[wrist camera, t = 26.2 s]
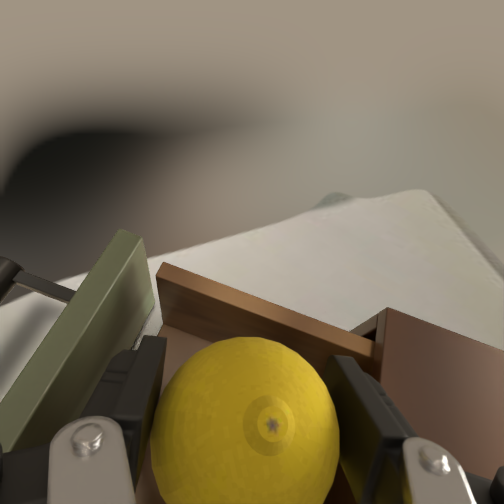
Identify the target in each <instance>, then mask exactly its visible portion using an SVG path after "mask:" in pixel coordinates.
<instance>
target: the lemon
mask: <svg viewBox="0 0 504 504" xmlns="http://www.w3.org/2000/svg"><path fill="white" fill-rule="evenodd" d="M339 432H340V430H339V425H338V420H337V415H336V410H335V406H334V404H333V401H332V399H331V397H330V394H329V392H328V390H327V387H326V385H325V384H324V382H323V381H322V379H321V378H320V377H319V375H318V374H317V372H316V371H315V369H314V368H313V367H312V366H311V365H310V364H309V363H308V362H306V361H305V360H304V359H303V358H302V357H301V356H300V355H299V354H298V353H296V352H295V351H293V350H291V349H289V348H288V347H286V346H284V345H282V344H281V343H278V342H275V341H271V340H267V339H264V338H260V337H235V338H231V339H227V340H222V341H218V342H215V343H213V344H211V345H210V346H208V347H206V348H204V349H202V350H200V351H198V352H196V353H195V354H194V355H193V356H192V357H190V358H189V359H188V360H187V361H186V362H185V363H184V364H183V365H182V366H180V367H179V368H178V370H177V371H176V372H175V374H174V375H173V377H172V378H171V380H170V381H169V382H168V384H167V385H166V387H165V388H164V390H163V393H162V395H161V397H160V400H159V402H158V405H157V407H156V410H155V413H154V419H153V425H152V431H151V437H150V446H151V461H152V469H153V473H154V476H155V479H156V482H157V485H158V489H159V492H160V495H161V496H162V498H163V499H164V501H165V503H166V504H323V502H324V500H325V498H326V496H327V494H328V492H329V490H330V488H331V486H332V484H333V481H334V477H335V472H336V468H337V464H338V459H339Z"/></svg>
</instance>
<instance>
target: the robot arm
mask: <svg viewBox="0 0 504 504" xmlns="http://www.w3.org/2000/svg"><path fill="white" fill-rule="evenodd" d="M166 346H167V337H158V336H148V335H144V336H143V339H142V341H141V343H140V345H139V348H138V350H127V349H124V350H122V351H121V352H120V353H118V354H117V355H115V356H114V357H113V358H112V359H111V360H110V362H109V364H108V366H107V368H106V370H105V372H104V373H103V375H102V377H101V379H100V382H98V384H97V386H96V388H95V390H94V391H93V393H92V395H91V397H90V399H89V400H88V402H87V404H86V406H85V408H84V410H83V411H82V413H81V415H80V417H79V419H77V420H74V421H72V422H70V423H69V424H67V425H66V426H64V427H63V428H62V429H60V430H59V431H58V432H57V433H56V435H55V436H54V438H53V439H52V441H51V442H49V443H46V444H43V445H40V446H36V447H31V448H26V449H21V450H16V451H11V452H6V453H3V450H2V445H1V443H0V504H137V503H136V498H135V492H136V488H137V484H138V480H139V476H140V472H141V468H142V464H143V460H144V456H145V452H146V448H147V444H148V440H149V436H150V432H151V428H152V425H153V419H154V413H155V410H156V407H157V405H158V401H159V396H160V391H161V386H162V379H163V371H164V363H165V355H166ZM322 381H323V382H324V384H325V385H326V387H327V390H328V392H329V394H330V397H331V399H332V401H333V404H334V406H335V410H336V415H337V420H338V425H339V430H340V432H339V461H340V463H341V466H342V468H343V470H344V473H345V475H346V478H347V480H348V483H349V485H350V488H351V490H352V492H353V495H354V497H355V500H356V502H357V504H504V466H501V467H499V468H498V470H497V472H496V474H495V477H494V479H493V480H490V479H487V478H484V477H481V476H478V475H475V474H472V473H469V472H466V471H463V469H462V467H461V465H460V464H459V462H458V461H457V460H456V459H455V458H454V457H453V456H452V455H451V454H450V453H449V452H448V451H447V450H445V449H444V448H443V447H441V446H439V445H438V444H436V443H434V442H432V441H429V440H427V439H424V438H420V437H419V436H418V435H417V433H416V432H415V431H414V429H413V428H412V427H411V425H410V424H409V422H408V421H407V420H406V418H405V417H404V416H403V414H402V413H401V412H400V410H399V409H398V408H397V406H395V403H394V402H393V401H392V399H391V398H390V397H388V394H387V393H386V391H385V390H384V389H383V387H382V386H381V385H380V383H379V382H377V381H376V380H375V379H374V378H373V377H371V376H370V375H369V374H368V373H364V372H363V371H362V369H361V368H360V366H359V365H358V364H357V362H356V361H355V359H354V358H353V357H349V356H340V355H330V356H329V357H328V359H327V362H326V366H325V370H324V374H323V378H322Z"/></svg>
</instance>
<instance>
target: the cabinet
mask: <svg viewBox="0 0 504 504" xmlns="http://www.w3.org/2000/svg"><path fill="white" fill-rule="evenodd" d="M350 333H353V334H356V335H358V336H361V337H364V338H366V339H369V340H372V341H374V342H375V351H374V360H373V369H372V377H373V378H374V379H375V380H376V381H377V382H379V383H380V385H381V386H382V387H383V389H384V390H385V391H386V393H387V394H388V397H390V398H391V399H392V401H393V402H394V403H395V406H397V408H398V409H399V410H400V412H401V413H402V414H403V416H404V417H405V418H406V420H407V421H408V422H409V424H410V425H411V427H412V428H413V429H414V431H415V432H416V433H417V435H418V436H419V437H420V438H424V439H427V440H429V441H432V442H434V443H436V444H438V445H439V446H441V447H443V448H444V449H445V450H447V451H448V452H449V453H450V454H451V455H452V456H453V457H454V458H455V459H456V460H457V461H458V462H459V464H460V465H461V467H462V469H463V471H466V472H469V473H472V474H475V475H478V476H481V477H484V478H487V479H490V480H493V479H494V477H495V474H496V472H497V470H498V468H499V467H501V466H504V351H502V350H500V349H497V348H495V347H492V346H489V345H487V344H484V343H481V342H479V341H476V340H473V339H471V338H468V337H465V336H463V335H460V334H457V333H455V332H452V331H450V330H447V329H444V328H442V327H439V326H436V325H434V324H431V323H428V322H426V321H423V320H420V319H418V318H415V317H413V316H410V315H407V314H405V313H402V312H399V311H397V310H394V309H391V308H389V307H387V308H385V309H384V310H382V311H380V312H379V314H376V315H375V316H373V317H371V318H370V319H368V320H367V321H365V322H364V323H362V324H360V325H359V326H357V327H356V328H354V329H353V330H351V331H350Z"/></svg>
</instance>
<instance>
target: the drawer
mask: <svg viewBox="0 0 504 504" xmlns="http://www.w3.org/2000/svg"><path fill="white" fill-rule="evenodd" d="M156 281H157V288H158V294H159V300H160V307H161V313H162V319H163V325H162V327H161V329H160V331H159V333H158V335H157V336H158V337H167V346H166V355H165V363H164V371H163V379H162V386H161V391H160V396H159V400H160V397H161V395H162V393H163V390H164V388H165V387H166V385H167V384H168V382H169V381H170V380H171V378H172V377H173V375H174V374H175V372H176V371H177V370H178V368H179V367H180V366H182V365H183V364H184V363H185V362H186V361H187V360H188V359H189V358H190V357H192V356H193V355H194V354H195V353H196V352H198V351H200V350H202V349H204V348H206V347H208V346H210V345H211V344H213V343H215V342H218V341H222V340H227V339H231V338H235V337H260V338H264V339H267V340H271V341H275V342H278V343H281V344H282V345H284V346H286V347H288V348H289V349H291V350H293V351H295V352H296V353H298V354H299V355H300V356H301V357H302V358H303V359H304V360H305V361H306V362H308V363H309V364H310V365H311V366H312V367H313V368H314V369H315V371H316V372H317V374H318V375H319V377H320V378H321V379H322V378H323V374H324V370H325V366H326V362H327V359H328V357H329V356H330V355H340V356H349V357H353V358H354V359H355V361H356V362H357V364H358V365H359V366H360V368H361V369H362V371H363V372H364V373H368V374H369V375H370V376H371V377H372V369H373V360H374V351H375V342H374V341H372V340H369V339H366V338H364V337H361V336H358V335H356V334H353V333H350V332H348V331H345V330H342V329H340V328H337V327H335V326H332V325H329V324H327V323H324V322H321V321H319V320H316V319H313V318H311V317H308V316H305V315H303V314H300V313H298V312H295V311H292V310H290V309H287V308H284V307H282V306H279V305H276V304H274V303H271V302H268V301H266V300H263V299H261V298H258V297H255V296H253V295H250V294H247V293H245V292H242V291H239V290H237V289H234V288H231V287H229V286H226V285H224V284H221V283H218V282H216V281H213V280H210V279H208V278H205V277H202V276H200V275H197V274H194V273H192V272H189V271H187V270H184V269H181V268H179V267H176V266H173V265H171V264H168V263H165V262H163V263H162V265H161V266H160V268H159V270H158V272H157V274H156ZM16 284H17V285H19V286H22V287H24V288H27V289H29V290H32V291H35V292H37V293H40V294H43V295H45V296H48V297H51V298H53V299H56V300H59V301H61V302H64V303H66V304H67V306H66V307H65V309H64V310H63V312H62V313H61V315H60V316H59V318H58V319H57V321H56V322H55V323H54V325H53V326H52V328H51V329H50V331H49V332H48V334H47V335H46V337H45V338H44V340H43V341H42V343H41V344H40V346H39V347H38V348H37V350H36V351H35V353H34V354H33V356H32V357H31V359H30V360H29V362H28V363H27V365H26V366H25V368H24V369H23V370H22V372H21V373H20V375H19V376H18V378H17V379H16V381H15V382H14V384H13V385H12V387H11V388H10V390H9V391H8V393H7V394H6V395H5V397H4V398H3V400H2V401H1V403H0V443H1V445H2V450H3V453H6V452H11V451H16V450H21V449H26V448H31V447H36V446H40V445H43V444H46V443H49V442H51V441H52V439H53V438H54V436H55V435H56V433H57V432H58V431H59V430H60V429H62V428H63V427H64V426H66V425H67V424H69V423H70V422H72V421H74V420H77V419H79V417H80V415H81V413H82V411H83V410H84V408H85V406H86V404H87V402H88V400H89V399H90V397H91V395H92V393H93V391H94V390H95V388H96V386H97V384H98V382H100V379H101V377H102V375H103V373H104V372H105V370H106V368H107V366H108V364H109V362H110V360H111V359H112V358H113V357H114V356H115V355H117V354H118V353H120V352H121V351H122V350H124V349H127V350H130V349H131V347H132V345H133V343H134V341H135V339H136V337H137V336H138V334H139V332H140V330H141V328H142V326H143V324H144V322H145V320H146V318H147V316H148V314H149V313H150V311H151V309H152V307H153V305H154V303H155V299H154V294H153V289H152V284H151V279H150V274H149V268H148V263H147V258H146V253H145V248H144V243H143V238H142V237H140V236H138V235H135V234H133V233H130V232H127V231H125V230H122V229H119V230H118V231H117V233H116V234H115V235H114V237H113V238H112V240H111V241H110V243H109V244H108V246H107V247H106V249H105V250H104V251H103V253H102V255H101V256H100V257H99V259H98V260H97V262H96V263H95V265H94V266H93V268H92V269H91V271H90V272H89V274H88V275H87V276H86V278H85V279H84V281H83V282H82V284H81V285H80V287H79V288H78V290H77V291H74V290H71V289H69V288H66V287H63V286H61V285H58V284H56V283H53V282H50V281H47V280H45V279H42V278H40V277H37V276H34V275H32V274H29V273H26V272H25V270H24V269H23V268H22V267H21V266H20V265H18V264H17V263H15V262H13V261H11V260H9V259H7V258H5V257H1V256H0V304H1V302H2V301H3V300H4V298H5V297H6V296H7V295H8V294H9V292H10V291H11V290H12V289H13V287H14V286H15V285H16ZM158 402H159V401H158ZM151 431H152V428H151ZM150 437H151V432H150V436H149V440H148V444H147V448H146V452H145V456H144V460H143V464H142V468H141V472H140V476H139V480H138V484H137V488H136V492H135V498H136V503H137V504H166V503H165V501H164V499H163V498H162V496H161V495H160V492H159V489H158V485H157V482H156V479H155V476H154V473H153V469H152V461H151V446H150ZM323 504H357V502H356V500H355V497H354V495H353V492H352V490H351V488H350V485H349V483H348V480H347V478H346V475H345V473H344V470H343V468H342V466H341V463H340V461H339V459H338V464H337V468H336V472H335V477H334V481H333V484H332V486H331V488H330V490H329V492H328V494H327V496H326V498H325V500H324V502H323Z"/></svg>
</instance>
